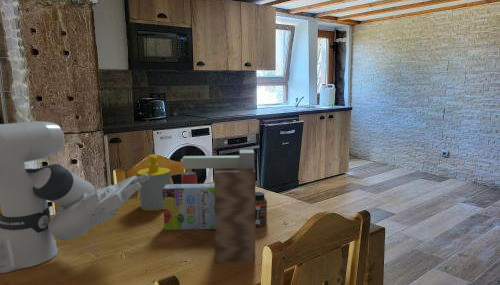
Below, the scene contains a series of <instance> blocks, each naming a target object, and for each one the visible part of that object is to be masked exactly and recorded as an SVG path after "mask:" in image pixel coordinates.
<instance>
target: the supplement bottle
mask: <svg viewBox="0 0 500 285" xmlns="http://www.w3.org/2000/svg"><path fill="white" fill-rule="evenodd" d="M267 218H268V201H267V199H266V198H265V193H264V192H262V191H255V227H256V228H257V227H264V226H266V225H267V223H268V222H267V221H268V219H267Z"/></svg>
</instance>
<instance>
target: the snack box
mask: <svg viewBox="0 0 500 285" xmlns="http://www.w3.org/2000/svg"><path fill="white" fill-rule="evenodd" d="M163 208H164V209H163V224H164V225H163V226H164V230H166V231H171V230H175V231H176V230H177V231H178V230H182V231H183V230H215V183H197V184H182V183H175V184H171V183H170V184H168V185H165V186H164V188H163Z"/></svg>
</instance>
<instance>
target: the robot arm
mask: <svg viewBox="0 0 500 285" xmlns="http://www.w3.org/2000/svg"><path fill="white" fill-rule="evenodd" d="M65 141H66V140H65V133H64V132H63V130H62V128H61V127H60V126H59V125H58V124H57V123H56V122H51V121H42V120H39V121H38V120H35V121H34V120H33V121H22V122H11V123H0V210H1V213H0V274H5V273H10V272H13V271H17V270H21V269H25V268H31V267H34V266H38V265H41V264H43V263H45V262H47V261H49V260H51V259H53V258H54V257H56V256H57V254H58V253H59V249H58V248H59V247H58V246H57V241H56V239H59V240H62V241H65V242H66V241H70V240H73V239H76V238H78V237H79V236H81V235H85V233H86V232H89V231H90V230H92V229H93V227H95V226H97V225H101V224H103V223H104V222H106V221H108V220H109V219H111V218H112V217H114V216H116V215H117V214H118V210H119V208H120V207H122V206H124V204H125V203H126V202H127V201H128V200H129V198H131V196H132V195H134V194H135V193H136V192H139V189H140V188H141V187H142V186H141V183H143V182H145V181H147V180H148V179H149V178H150V177H149V175H148V174H144V175H142V176H140V177H138V175H137V176H136V175H133V176H130V177H128V178H126V179H123V180H121V181H120V182H117V183H115V184H109V185H107V186H105V187H101V188H98V189H96V187H95V186H94V185H93V183H91V182H90V181H88V180H86V179H84V178H82V177H81V176H79V175H77V174H75V173H73V172H71V171H70V170H68V169H67V168H65V167H64V166H62V165H61V164H59V163H52V164H48V165H46V166H42V167H39V168H25V163H28V162H32V161H36V160H43V159H46V158H49V157H51V156H53V155H56V154H58V153H60V152H61V151H63V150H62V149H63V148H64V145H65ZM48 201H49V202H50V203H52V204H53V203H54V204H55V205H58V206H57V210H56V211H55V214H54V215H53V217H51V210H50V206H49V205H48ZM55 238H56V239H55Z"/></svg>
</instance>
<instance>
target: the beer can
mask: <svg viewBox="0 0 500 285" xmlns="http://www.w3.org/2000/svg"><path fill="white" fill-rule="evenodd" d="M181 175H182V176H181V178H180V179H181V180H180V181H181V184H198V177H197V173H196V171H193V170H188V171H184V172H182V174H181Z"/></svg>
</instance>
